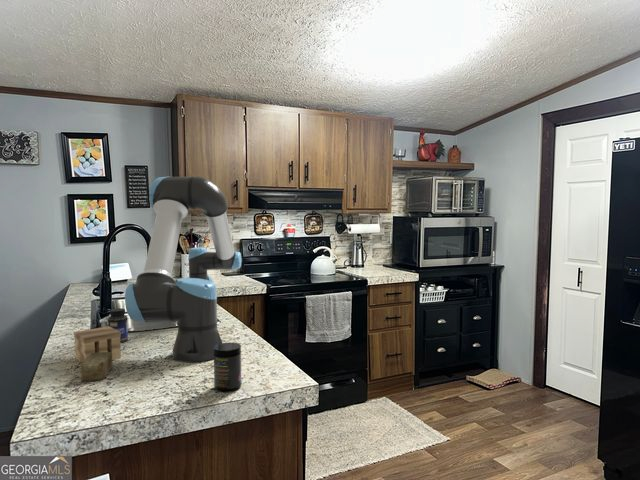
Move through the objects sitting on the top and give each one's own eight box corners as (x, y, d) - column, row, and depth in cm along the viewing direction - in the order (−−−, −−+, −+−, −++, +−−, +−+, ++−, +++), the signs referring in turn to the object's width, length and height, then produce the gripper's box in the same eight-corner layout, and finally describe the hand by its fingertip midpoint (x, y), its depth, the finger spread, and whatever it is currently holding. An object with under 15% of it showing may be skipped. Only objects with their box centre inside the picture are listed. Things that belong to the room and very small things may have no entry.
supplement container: (240, 392, 105) (239, 350, 105) (212, 393, 105) (211, 351, 104) (242, 381, 112) (242, 342, 111) (216, 383, 111) (215, 342, 111)
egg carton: (117, 329, 167) (116, 318, 167) (97, 329, 168) (97, 318, 167) (129, 322, 178) (129, 312, 178) (111, 322, 178) (110, 312, 178)
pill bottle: (108, 344, 145) (107, 312, 145) (108, 340, 151) (107, 308, 150) (128, 342, 148) (127, 310, 147) (128, 338, 154) (126, 307, 153)
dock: (121, 357, 132) (120, 331, 131) (85, 366, 125) (84, 338, 124) (109, 350, 139) (108, 326, 138) (74, 358, 132) (73, 332, 131)
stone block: (80, 383, 112) (79, 364, 112) (90, 368, 123) (90, 351, 123) (104, 381, 114) (103, 362, 114) (113, 366, 125) (112, 349, 125)
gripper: (206, 299, 172) (166, 311, 153) (159, 294, 183) (116, 305, 164) (206, 280, 172) (166, 290, 153) (159, 277, 182) (116, 285, 163)
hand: (140, 298), depth 158 cm, fingers open, 13 cm apart
